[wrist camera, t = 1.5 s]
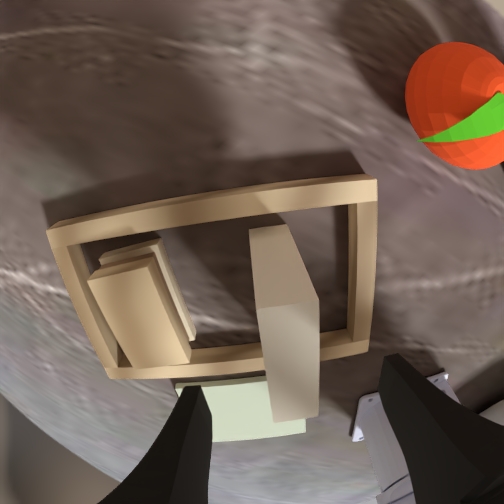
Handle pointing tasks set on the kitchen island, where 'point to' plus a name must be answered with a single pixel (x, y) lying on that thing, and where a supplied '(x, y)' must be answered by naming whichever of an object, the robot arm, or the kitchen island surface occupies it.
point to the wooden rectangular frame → (213, 209)
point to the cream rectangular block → (286, 323)
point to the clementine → (458, 104)
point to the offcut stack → (144, 305)
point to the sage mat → (242, 410)
